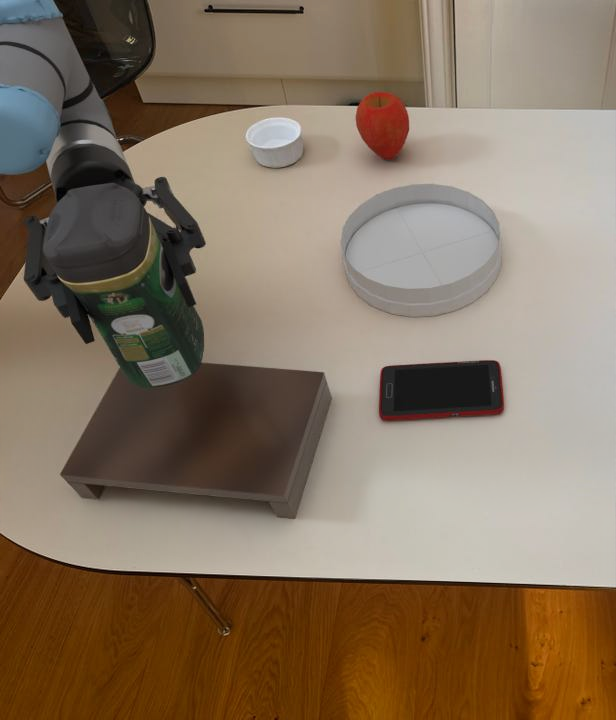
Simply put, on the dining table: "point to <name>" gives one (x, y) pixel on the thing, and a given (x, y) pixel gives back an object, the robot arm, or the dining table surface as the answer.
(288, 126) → the ramekin
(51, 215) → the coffee jar
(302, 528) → the dining table surface
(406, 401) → the cell phone
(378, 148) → the apple
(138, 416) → the shelf
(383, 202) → the dish
